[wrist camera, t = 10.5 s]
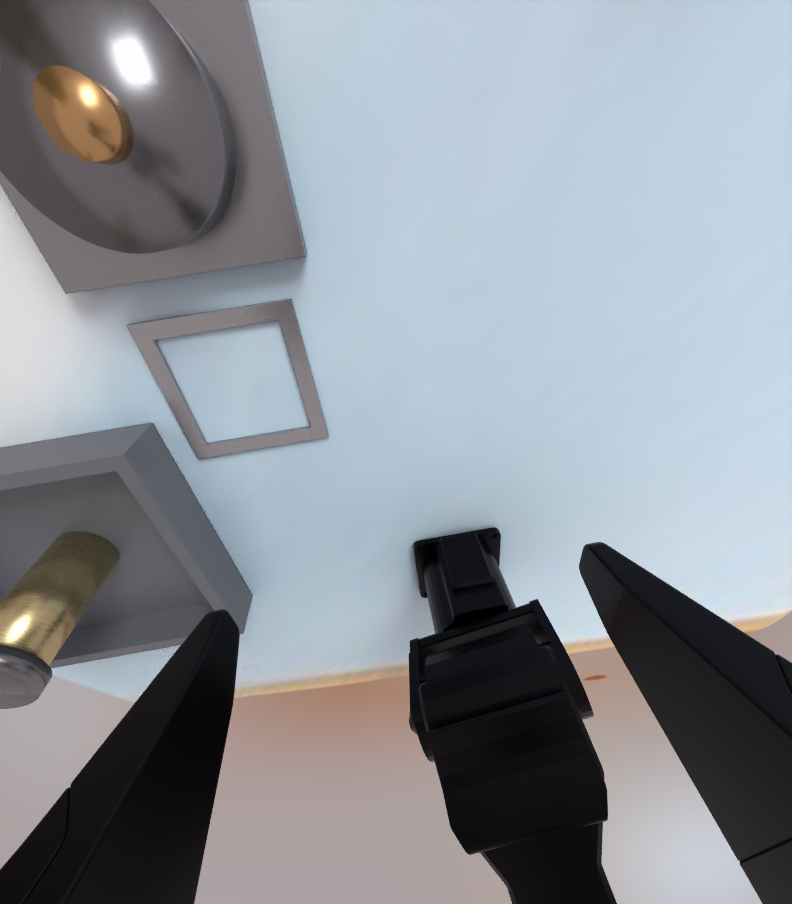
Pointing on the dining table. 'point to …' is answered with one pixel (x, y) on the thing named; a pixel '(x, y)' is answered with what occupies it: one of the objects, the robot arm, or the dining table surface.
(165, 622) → the tray
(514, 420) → the dining table surface
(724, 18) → the dining table surface
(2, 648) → the gold cylinder with rim
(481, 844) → the robot arm
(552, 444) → the dining table surface
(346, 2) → the dining table surface
